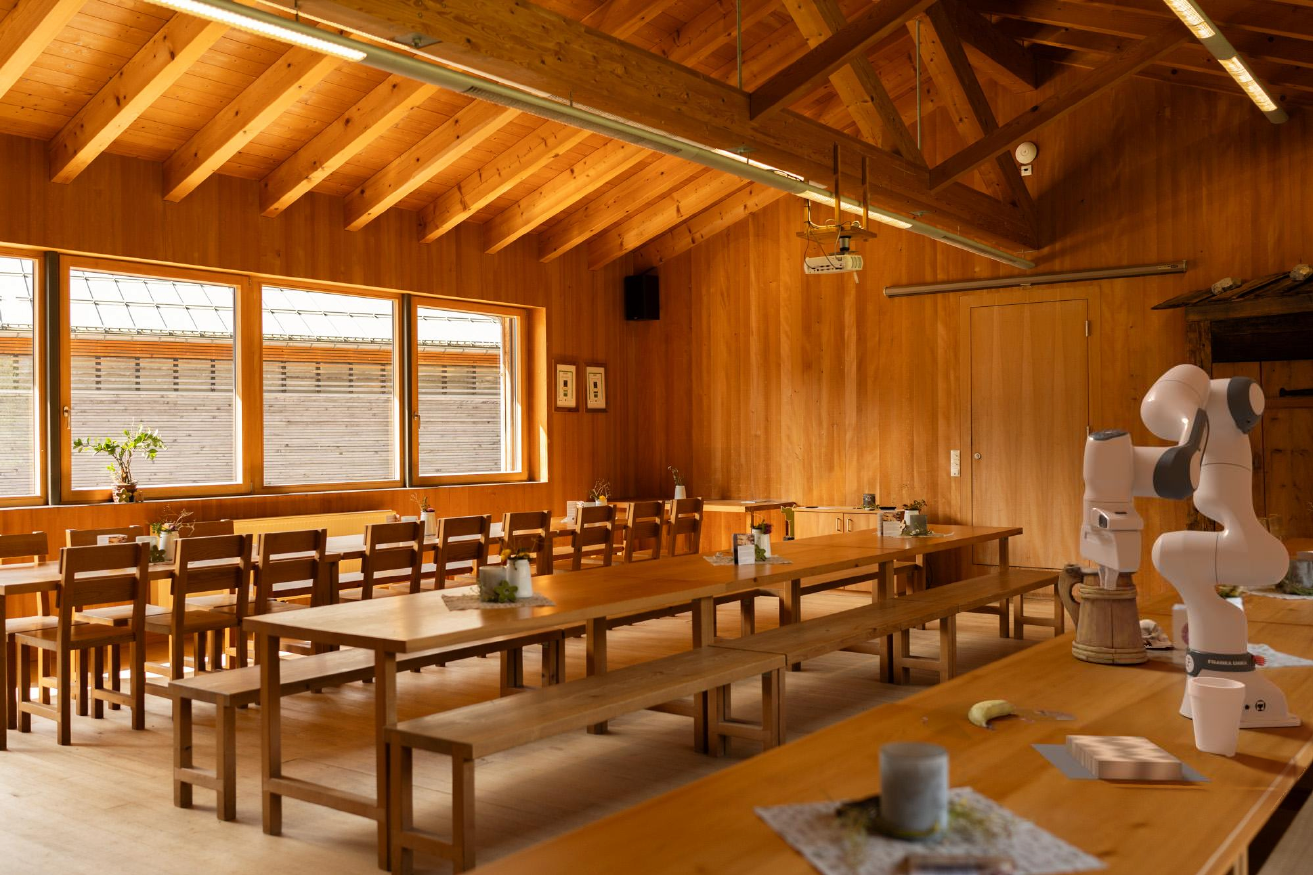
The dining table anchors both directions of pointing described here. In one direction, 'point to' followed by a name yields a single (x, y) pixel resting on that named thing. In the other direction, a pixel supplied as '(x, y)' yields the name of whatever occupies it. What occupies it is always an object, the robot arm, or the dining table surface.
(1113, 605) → the tankard
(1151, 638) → the skull
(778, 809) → the dining table surface
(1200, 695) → the foam cup
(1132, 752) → the table sign
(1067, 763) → the mat
